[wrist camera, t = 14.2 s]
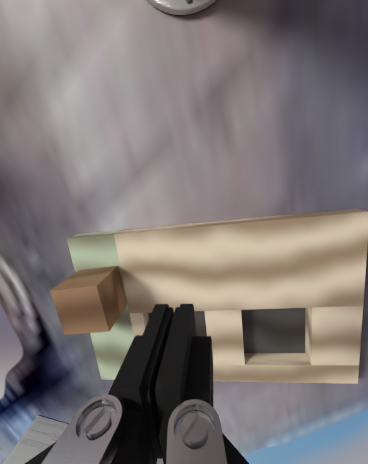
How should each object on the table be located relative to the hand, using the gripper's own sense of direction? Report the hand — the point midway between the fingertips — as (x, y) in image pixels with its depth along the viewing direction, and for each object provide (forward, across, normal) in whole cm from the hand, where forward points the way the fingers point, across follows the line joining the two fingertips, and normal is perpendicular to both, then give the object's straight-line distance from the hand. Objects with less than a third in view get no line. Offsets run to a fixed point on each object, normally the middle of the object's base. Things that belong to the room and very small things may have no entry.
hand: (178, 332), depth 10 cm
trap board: (+21, 0, +13) cm, 25 cm away
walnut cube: (+19, +15, +8) cm, 26 cm away
